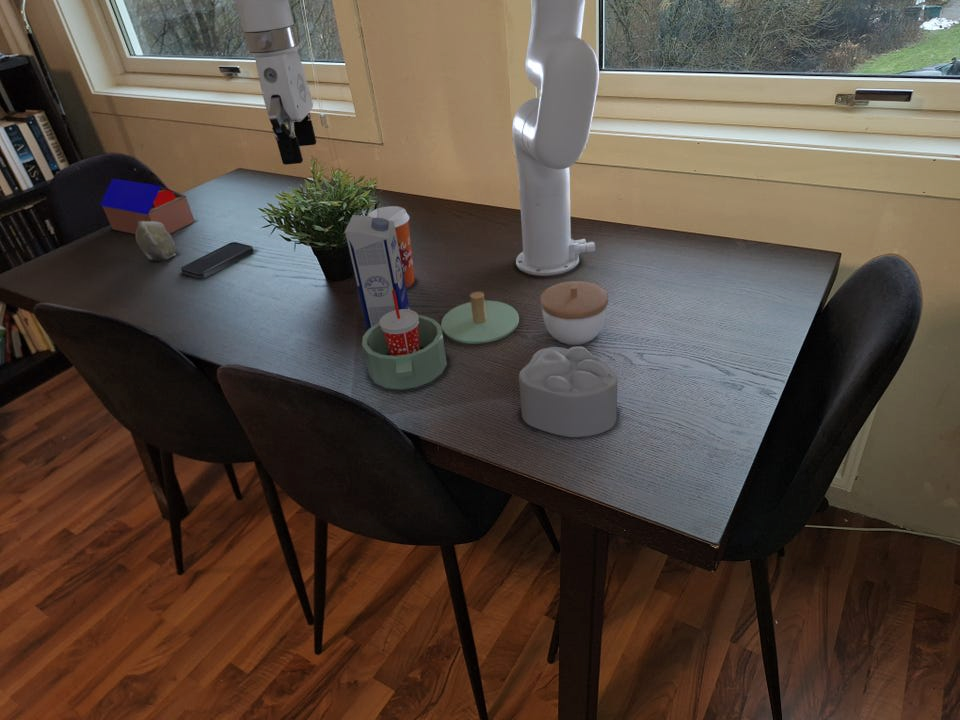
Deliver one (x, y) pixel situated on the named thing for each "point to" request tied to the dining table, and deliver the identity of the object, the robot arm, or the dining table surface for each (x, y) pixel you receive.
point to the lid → (480, 321)
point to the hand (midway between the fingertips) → (300, 153)
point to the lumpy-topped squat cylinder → (568, 392)
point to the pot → (405, 357)
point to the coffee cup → (399, 237)
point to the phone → (217, 260)
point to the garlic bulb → (155, 240)
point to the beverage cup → (401, 330)
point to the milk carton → (376, 266)
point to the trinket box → (574, 311)
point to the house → (144, 206)
